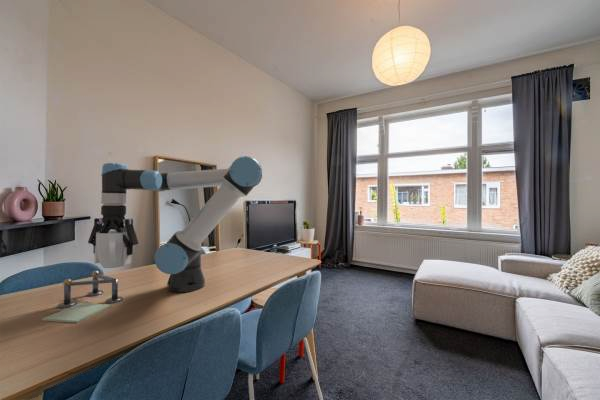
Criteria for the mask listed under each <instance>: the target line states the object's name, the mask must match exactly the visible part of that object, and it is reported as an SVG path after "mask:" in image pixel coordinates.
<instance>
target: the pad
mask: <svg viewBox="0 0 600 400" xmlns="http://www.w3.org/2000/svg"><path fill="white" fill-rule="evenodd" d="M111 306H112V305H111V304H105V303H104V304H102V303H101V304H99V303H85V302H84V303H83V302H79V303H77V304H76V305H74V306H71V307H67V308H64V309H63V310H62V309H61V310H60V311H58V312H55V313H52V314H50V315H48V316H45V317H43V318H42V321H43V322H59V323H73V324H79V323H80V322H82V321H84V320H86V319H88V318H90V317H92V316H95V315H97V314H99V313H100V312H103V311H105V310H107V309H108V308H111Z"/></svg>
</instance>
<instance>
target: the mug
mask: <svg viewBox="0 0 600 400" xmlns="http://www.w3.org/2000/svg"><path fill="white" fill-rule="evenodd" d="M123 235H127V232H124V233H118V232H117V231H116V230H112V229H111V230H110V231H109V232H108V233H99V232H97V233H96V252H97V257H98V260H99V262H100V263H99V264H100V266H101V267H102V268H104V269H115V268H121V267H124V266H125V265H123V255H124V246H126V245H125V243H124V242H123Z"/></svg>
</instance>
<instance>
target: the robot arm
mask: <svg viewBox="0 0 600 400" xmlns="http://www.w3.org/2000/svg"><path fill="white" fill-rule="evenodd" d="M262 178H263V168H262V166H261V164H260V162H259V161H258V160H257V159H256V158H254V157H251V156H246V155H245V156H239V157H237V158H236V159H235V160H234V161H233V162H232V163H231V165H230V166H229V167H228V168H219V169H217V168H216V169H203V170H190V171H189V170H188V171H177V172H176V171H175V172H174V171H172V172H161V173H160V172H159V171H158V170H154V169H128V168H127V165H126V164H123V163H119V162H117V163H113V162H106V163H103V165H102V171H101V198H100V199H101V201H100V202H101V203H100V204H102V205H101V207H100V208H101V209H100V215H101V216H102V217H97V218H94V219H93V227H92V229H91V232H90V234H89V235H90V236H89V238H88V241H87V242H88V243H87V244H89V245H92V246H93V250H92V251H93V254H94V264H100V262H99V260H98V257H97V252H96V233H97V232H99V233H108V232H109V231H112V230H116V231H117V232H118V233H124V232H127V235H123V242H124V243H125V245H126V246H124V255H123V265H124V266H126V265H128V264H131V263H132V255H133V253H134V251H133V247H134V246H135V245H136V246H137V245H138V244H139V241H138V237H137V233H136V230H135V227H134V220H133V218H125V216H126V214H127V190H139V191H142V190H143V191H153V192H165V191H173V190H185V189H186V190H187V189H199V188H200V189H201V188H212V187H213V188H215V187H218V188H217V190H216V191H215V192H214V193H213V194H212V195H211V197H210V198H209V199H208V200H207V201H206V203H205V204H204V205H203V206H202V207H201V209H200V210H199V211H198V212H197V213H196V214H195V215H194V217H193V218H192V219H191V220H190V221H189V222H188V223H187V225H186V226H185V227H184V228H183V229H181V230H177V231H175V233H174V234H173V235H172V236H171V237H170V238H169V240H167V242H166V243H164V244H162V245H161V246H159V247H158V249H157V250H156V252H155V254H154V264H155V266H156V268H157V269H158V270H159V271H160V272H162V273H163V274H167V275H169V278H168V281H167V285H166V289H167V291H169V292H171V293H189V292H192V291H197V290H200V289H202V288H203V287H204V286H205V285H206V279H205V276H204V273H203V270H202V244H203V242H204V241H205V240H206V238H208V236H209V235H210V234H211V233H212V231H213V230H214V229H215V228H216V227H217V226H218V224H219V223H220V222H221V220H222V219H223V218H224V217H226V215H227V213H228V212H229V211H230V210H231V209H232V208H233V206H235V204H236V203H237V202H238V200H239V199H240V198H242V197H247V196H248V195H249V194H250V192H252V190H253V189H254V187H256V186H258V185H259V184H260V182H261V180H262ZM125 204H126V205H125Z"/></svg>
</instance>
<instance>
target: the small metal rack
mask: <svg viewBox="0 0 600 400" xmlns="http://www.w3.org/2000/svg"><path fill="white" fill-rule="evenodd" d="M91 276H92V280H83V281H73V280H72V279H71V278H66V279H64V280H63V282H62V285H63V302H61V303H59V304H57V309H67V308H69V307H72V306H74V305H77V304H78V302H77V301H76V300H72V298H71V297H72V295H71V293H72V292H71V291H72V287H73V286H74V287H75V286H85V285H92V290H91V291H89V292H87V294H86V295H87V297H97V296H100V295H103V294H104V290H102V289H100V290H99V284H111V297H109V298H107V299H106V300H105V302H106V303H107V304H115V303H120V302H121V301H123V300H124V298H123V296H121V295H120V296H119V293H118V292H119V278H115V277H111V276H107V275H103V274H100V271H99V270H93V271H92V273H91ZM102 293H103V294H102Z"/></svg>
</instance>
